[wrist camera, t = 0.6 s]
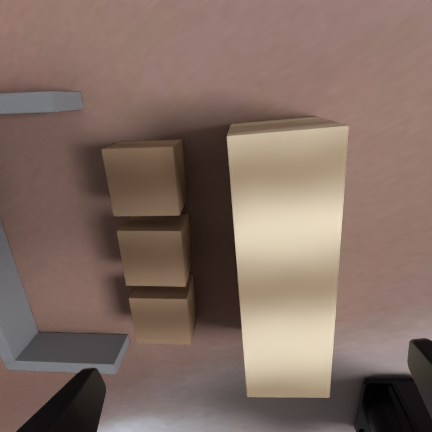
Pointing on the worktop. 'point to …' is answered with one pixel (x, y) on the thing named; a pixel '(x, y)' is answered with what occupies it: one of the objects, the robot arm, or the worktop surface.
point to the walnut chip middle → (155, 250)
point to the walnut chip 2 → (164, 313)
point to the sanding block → (288, 249)
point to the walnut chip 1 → (146, 177)
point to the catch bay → (17, 300)
